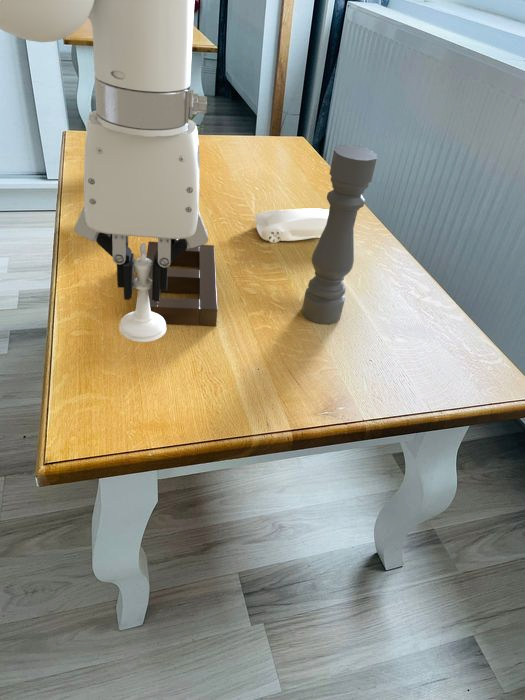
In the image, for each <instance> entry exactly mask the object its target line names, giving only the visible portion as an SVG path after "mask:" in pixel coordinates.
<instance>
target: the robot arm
mask: <svg viewBox="0 0 525 700" xmlns="http://www.w3.org/2000/svg"><path fill="white" fill-rule="evenodd" d="M194 14H195V0H0V30H1V31H3V32H4V33H8V34H10V35H12V36H14V37H16V38H20V39H23V40H25V41H29V42H30V41H31V42H37V43H52V42H53V43H54V42H57V41H61V40H63V39H66V38H67V37H70V36H71V35H73V34H74V33H76V32H77V31H78V30H79V29H80V28H81V27H82V26H83V25H84V24H85V22H86V21H87V20H88V19H89V21H90V23H91V27H92V28H91V29H92V46H93V49H92V50H93V67H94V68H93V69H94V92H95V110H92V111H90V113H89V114H88V121H87V125H86V126H87V127H86V132H85V133H86V134H85V143H84V158H83V159H84V160H83V207H82V209H81V212H80V214H79V216H78V218H77V221H76V223H75V225H74V229H73V230H74V233H75V234H77V235H78V236H81V237H83V238H85V239H87V240H89V241H92V242H96V243H97V245H98V246H100V247H101V248H102V249H103V250H104V252H106V253H107V254H108V255H110V256H111V257H112V261H113V263H114V264H116V281H117V283H116V284H117V285H116V286H117V288H118V289H119V288H120V289H121V288H122V289H123V300H125V301H130V300H131V299H132V298H133V292H134V287H133V285H132V284H133V280H134V279H135V269H134V267H133V261H134V260H135V254H134V253H133V252H132V249H131V248H130V247H129V237H140V238H153V239H154V238H155V239H157V242H158V250H157V251H156V255H154V261H153V271H152V300H154V301H155V302H159V299H160V298H161V293H160V290H167V279H168V268H169V267H170V266H169V265H170V263H171V261H173V260H174V259H175V258H177V257H178V256H179V255H180V254H182V253H183V252H184V251H185V250H186V249H189V248H190V249H191V248H194V247H197V246H201V245H207V244H208V242H209V233H208V229H207V226H206V225H205V222H204V220H203V217H202V214H201V212H200V209H199V208H200V206H199V205H200V182H201V181H200V180H201V179H200V178H201V177H200V174H201V172H200V171H201V161H200V160H201V159H200V141H199V140H200V139H199V133H198V130H197V128H198V126H196V124H197V123H196V122H195V121H193V119H192V120H189V119H188V116H189V117H192V114H197V113H198V114H202V115H203V114H204V115H206V114H207V108H208V105H207V104H208V96H206V95H205V96H204V95H199V93H194V89H191V77H192V58H193V57H192V56H193V35H194V33H193V32H194ZM198 114H197V115H198Z"/></svg>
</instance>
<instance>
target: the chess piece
mask: <svg viewBox="0 0 525 700" xmlns="http://www.w3.org/2000/svg"><path fill="white" fill-rule="evenodd" d="M146 247H147V245H146V243H140V246H139V252H140V257H137V258H136V259H135V258H134V261H133V267H134V273H135V275H136V277H135V278H134V280H133V284H132V285H133V289H136V290H137V296H136V303H135V310H133V311H131V312H128V313H127V314H125V315H123V316H122V317H121V319H120V321H119V328H118V329H119V333H120V335H122V336H123V337H124V338H126V340H127V339H128V340H130V341H133V342H137V343H150V342H154V341H157V340H159V339H161V338H162V337H163V336H164V335H166V332H167V324H166V322H165V320H164V318H163V317H162V316H160V315H159V314H157V313H155V312H151V309H150V302H149V294H148V289H151V288H152V280H151V279H150V278H149V276H150V272H151V270H152V268H153V261H152V260H150V259H148V258H146V256H147V248H146Z"/></svg>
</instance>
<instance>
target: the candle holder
mask: <svg viewBox="0 0 525 700" xmlns="http://www.w3.org/2000/svg"><path fill="white" fill-rule="evenodd" d="M377 159H378V154H377V153H376V152H375V151H373V150H371V149H370V148H367V147H364V146H359V145H353V144H352V145H350V144H341V145H337V146H335V147H334V149H333V153H332V157H331V163H330V167H329V168H330V169H329V175H330V182H331V187H332V190H329V191H328V192H327V195H326V200H327V202H328V205H329V209H328V210H329V214H328V219H327V224H326V226H325V228H324V231H323V233H322V235H321V237H320V238H318V242H317V244H316V246H315V248H314V250H313V252H312V256H311V264H312V267H313V269H314V276H313V277H312V278H311V279H310V280H309V281H308V284H307V287H306V290H305V292H304V297H303V301H302V308H301V312H302V315H303V316H304V317H305V318H306V319H307V320H309V321H311V322H313V323H315V324H320V325H333V324H335V323H338V322H339V321H340V320H341V318H342V313H343V309H344V305H345V301H346V295H345V293H346V286H345V284H344V282H343V281H344V280H345V277H346V276H347V275H348V274H349V273H350V272H351V271H352V269H353V266H354V261H355V243H354V242H355V241H354V240H355V238H354V237H355V234H354V231H355V229H354V228H355V223H356V220H357V216H358V215H357V214H358V211H360V209H361V208H363V207H364V206H365V203H366V199H365V197H364V196H363V194H364V193H365V190H366V189H368V188H369V184H370V183H372V180H373V176H374V172H375V168H376V163H377Z"/></svg>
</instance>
